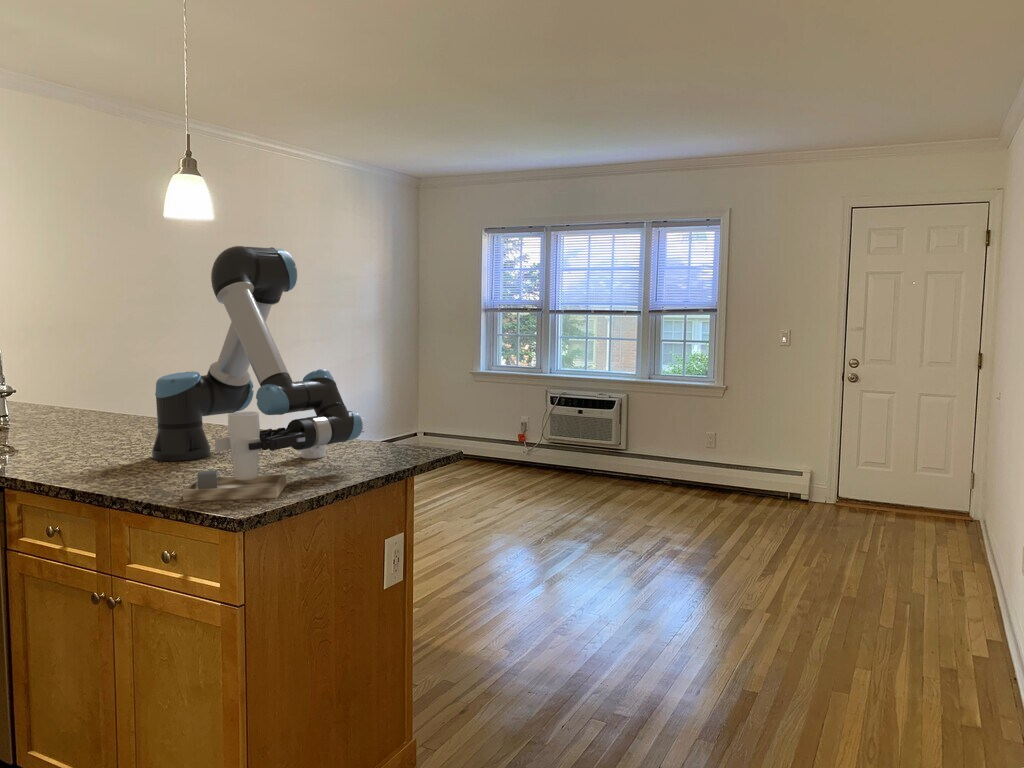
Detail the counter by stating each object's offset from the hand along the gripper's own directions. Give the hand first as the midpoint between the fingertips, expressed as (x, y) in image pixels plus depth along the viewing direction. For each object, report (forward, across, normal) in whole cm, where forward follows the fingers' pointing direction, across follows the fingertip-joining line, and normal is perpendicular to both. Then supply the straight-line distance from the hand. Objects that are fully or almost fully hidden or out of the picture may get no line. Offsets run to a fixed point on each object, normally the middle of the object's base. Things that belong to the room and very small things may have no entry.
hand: (225, 446), depth 177 cm
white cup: (-41, +21, -11) cm, 47 cm away
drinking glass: (-5, 0, -8) cm, 10 cm away
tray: (-4, +2, -11) cm, 12 cm away
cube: (+1, +6, -10) cm, 12 cm away
